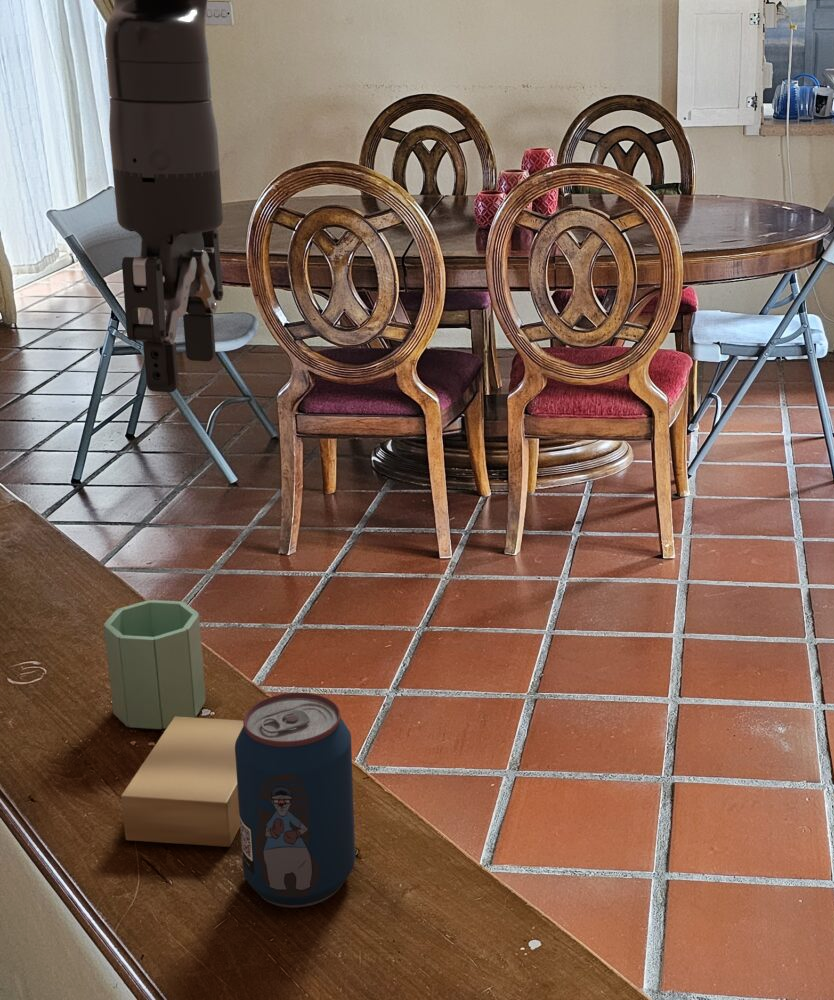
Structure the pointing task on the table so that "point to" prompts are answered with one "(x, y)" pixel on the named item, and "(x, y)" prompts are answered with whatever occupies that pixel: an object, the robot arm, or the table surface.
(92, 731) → the table surface
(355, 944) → the table surface
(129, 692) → the octagonal tube
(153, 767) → the step
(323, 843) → the soda can
